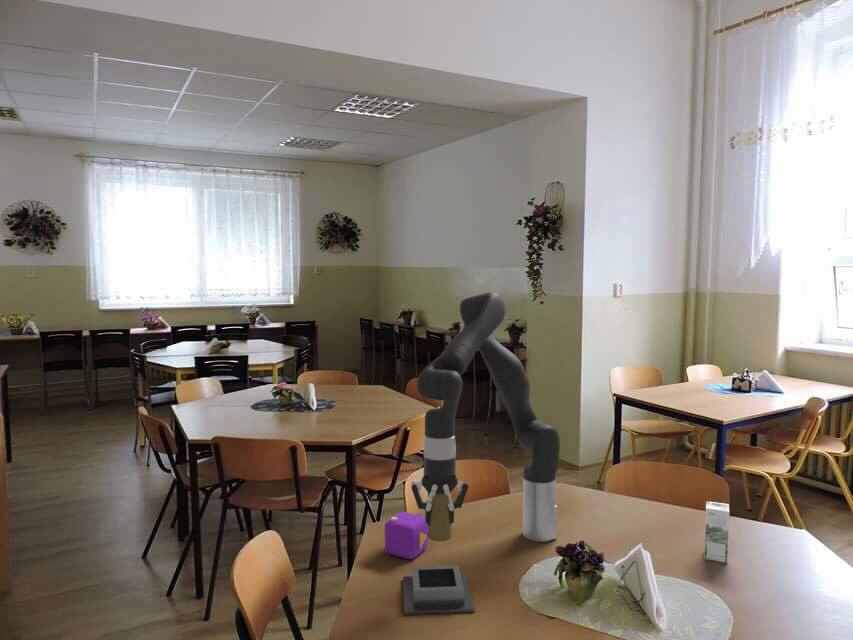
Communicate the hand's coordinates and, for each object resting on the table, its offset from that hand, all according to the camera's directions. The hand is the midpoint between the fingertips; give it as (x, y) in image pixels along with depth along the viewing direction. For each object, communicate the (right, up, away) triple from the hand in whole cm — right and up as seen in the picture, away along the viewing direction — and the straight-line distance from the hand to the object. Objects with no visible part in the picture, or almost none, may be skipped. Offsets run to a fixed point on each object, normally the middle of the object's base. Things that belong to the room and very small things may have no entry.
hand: (439, 524), depth 148 cm
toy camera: (-8, -16, +26) cm, 32 cm away
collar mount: (0, -17, +2) cm, 18 cm away
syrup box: (+75, -16, +20) cm, 79 cm away
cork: (0, -3, 0) cm, 3 cm away
